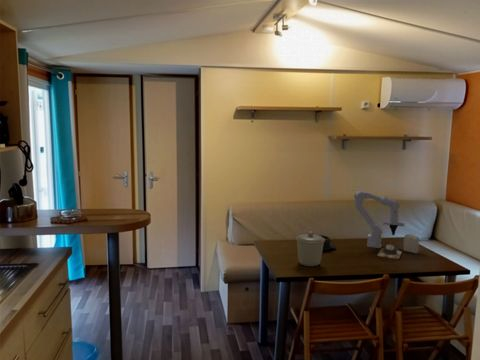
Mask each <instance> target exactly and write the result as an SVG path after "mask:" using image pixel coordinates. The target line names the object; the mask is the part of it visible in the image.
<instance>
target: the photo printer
mask: <svg viewBox="0 0 480 360" xmlns="http://www.w3.org/2000/svg"><path fill="white" fill-rule="evenodd" d="M419 241H420V238H419V237H418V236H417V235H415V234H410V233H409V234H405V235H404V237H403V251H404V252H408V253H412V254H418V253H419V245H420V244H419V243H420V242H419Z"/></svg>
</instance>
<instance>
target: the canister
mask: <svg viewBox="0 0 480 360" xmlns="http://www.w3.org/2000/svg"><path fill="white" fill-rule="evenodd" d="M319 235H320V234H315V233H314V232H313V231H311V230H310V231H308V232H307V233H304V234H298V235H297V236H295V240H296V245H297V246H296V247H297V257H298V259H297V260H298V263H300V265H303V266H304V267H305V266H306V267H316V266H319V265H320V263H321V262H322V261H321V260H322V255H323V251H322V250H323V244H324V241H325V239H324V238H323V237H321V236H319Z"/></svg>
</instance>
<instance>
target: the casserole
mask: <svg viewBox="0 0 480 360" xmlns="http://www.w3.org/2000/svg"><path fill="white" fill-rule="evenodd" d="M318 235H319V236H321V237H323V238H324V239H325V241H324V244H323V250H322V252H324V251H328V250H331V249H336V248H337V246H336V245H335V244H333V243H331V242H332V241H331V238H330V237H329V236H327V235H322V234H318Z"/></svg>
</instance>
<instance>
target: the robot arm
mask: <svg viewBox="0 0 480 360" xmlns="http://www.w3.org/2000/svg"><path fill="white" fill-rule="evenodd" d="M353 198H354V207H356V209H357V211H358V212H359V213H360V215H361V217H363V219H364V220H365V221H366V223H367V225H369V227H370V229H371V230H370V232H371V233H369V234H367V244H366V246H367V247H368V248H376V249H381V248H382V246H383V245H382V234H383V229H382V228H381V227H380V225H378V224H377V223H376V222H375V221H374V219H373V218H372V216H370V214H369V213H368V211H367V209H365V207H364V205H363V204H364V201H365V200H368V199H371V200H373V201H376V202H377V201H378V202H379V204H380V205H383V206H386V207H389V208H390V209H389V221H383V222H382V225H384V226H385V225H388V226H389V229H390V230H391V234H392V236H395V233H396V230H397V228H398V227H405V223H404V222H399V208H400V203H399V201H397V200H395V199H393V198H389V197H388V196H385V195H384V196H378V195H376V194H373V193H371V192H368V191H364V190H356V191H355V193H354V197H353Z"/></svg>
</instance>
